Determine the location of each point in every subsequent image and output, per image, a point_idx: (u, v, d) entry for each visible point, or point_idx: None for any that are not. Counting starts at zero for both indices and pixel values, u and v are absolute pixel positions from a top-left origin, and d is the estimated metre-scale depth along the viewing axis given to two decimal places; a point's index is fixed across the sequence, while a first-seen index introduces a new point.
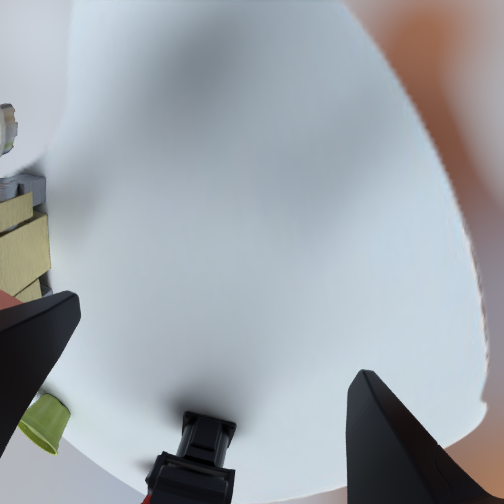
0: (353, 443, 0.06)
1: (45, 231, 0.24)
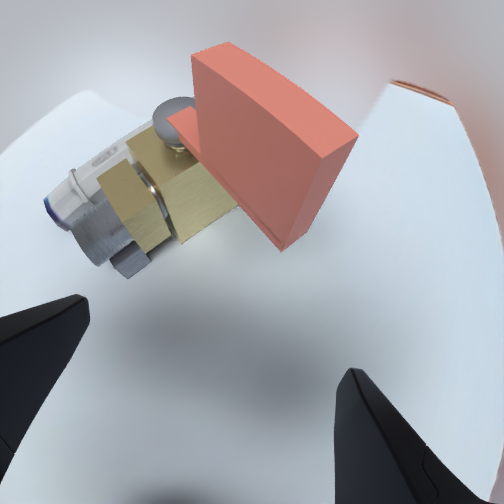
0: (341, 442, 0.06)
1: (224, 211, 0.24)
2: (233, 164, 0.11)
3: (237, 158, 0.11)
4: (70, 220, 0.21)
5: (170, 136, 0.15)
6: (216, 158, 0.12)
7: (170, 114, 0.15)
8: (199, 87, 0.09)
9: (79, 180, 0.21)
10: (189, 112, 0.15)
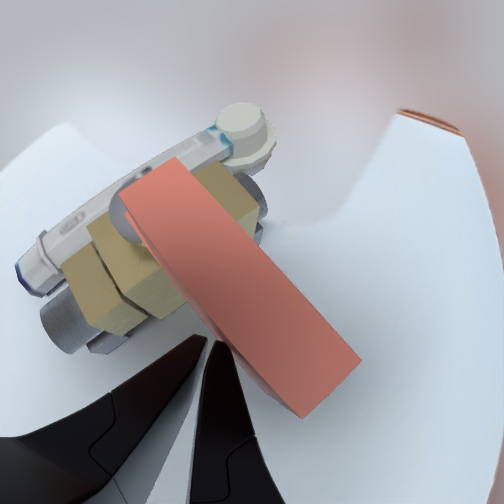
0: (196, 418, 0.07)
1: None
2: (200, 315, 0.09)
3: (203, 317, 0.09)
4: (43, 289, 0.19)
5: (130, 237, 0.12)
6: (181, 292, 0.10)
7: None
8: (141, 232, 0.07)
9: (47, 249, 0.18)
10: None
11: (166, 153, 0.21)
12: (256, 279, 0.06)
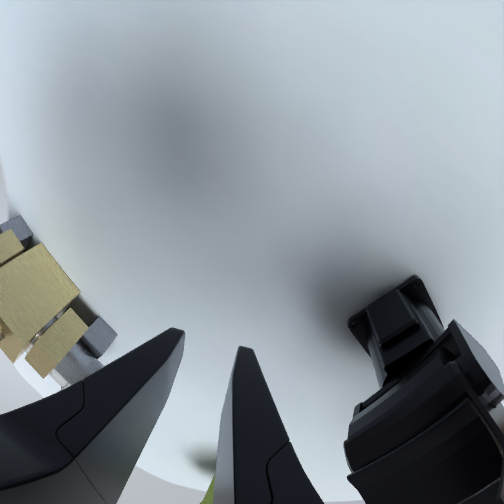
0: (221, 424, 0.07)
1: (48, 257, 0.22)
2: None
3: None
4: None
5: None
6: None
7: None
8: None
9: (64, 383, 0.23)
10: None
11: None
12: None
